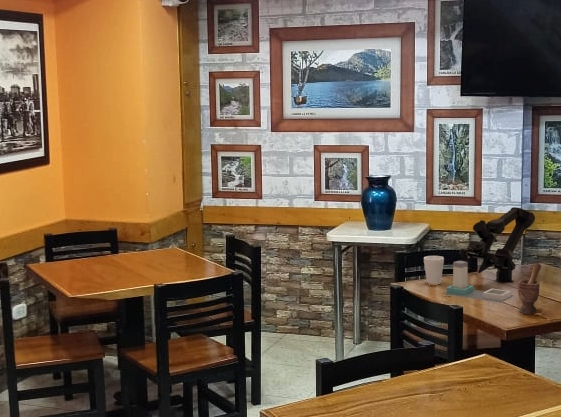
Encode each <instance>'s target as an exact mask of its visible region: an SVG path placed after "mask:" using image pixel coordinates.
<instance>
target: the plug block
mask: <svg viewBox="0 0 561 417" xmlns="http://www.w3.org/2000/svg"><path fill="white" fill-rule="evenodd" d="M452 265H453V266H452V267H453V269H452V271H453V272H452V273H453V274H452V277H453V278H452V279H453V280H452V281H453V282H452V283H453V284H452V285H453V288H458V289H466V288H467V285H468V265H469V264H468V262H464V261H463V260H457V261H453V263H452Z"/></svg>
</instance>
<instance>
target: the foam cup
mask: <svg viewBox="0 0 561 417" xmlns="http://www.w3.org/2000/svg"><path fill="white" fill-rule="evenodd" d="M423 263H424V264H423V265H424V271H425V277H426V278H425V279H426V283H427V282H428V283H431V284H439V283H442V277H443V276H442V275H443V269H444V263H445V258H444V256H440V255H427V256H424V257H423Z"/></svg>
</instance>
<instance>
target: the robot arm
mask: <svg viewBox="0 0 561 417" xmlns="http://www.w3.org/2000/svg"><path fill="white" fill-rule="evenodd" d="M535 220H536V215H535V214H534V213H533V212H531V211H528V210H525V209H523V208H521V207H515V206H513V207H511V208H510V209H509V210H508V211H507V212H505V213H504V214H503V215H501V216H499V218H495V219H491V220H489V221H488V222H486V221H485V220H483V219H480V220H479V221H478V222H476V223H474V224H473V226H472V230H473V232H474V233H475V234H476V236H477V237H478V238H480V240H479V241H474V240H469V241H468V246H467V248H460V250H459V252H458V253H459V255H460V256H461V258H462V261H464V262H468V265H469V264H471V262H472V261H471V260H472V259H473V258H475V259H480V260H482V263H481V265H480V267H479V268H478V272H477V273H478V274H481V273H483V272H484V271H485V270H487V269H490V268H491V267H494V269H497V270H496V274H495V276H496V278H495V281H497V282H499V283H501V284H504V283H506V284H507V283H514V280H513V271H515V269H516V264H515V262H514V261H513V260H514V255H513V252H514V251H515V249H516V247H517V245H518V244H519V242H520V240H521V238H522V236H523V234H524V232H525V231H526V230H527V229H529V228H531V227H532V225H533V223H534V222H535ZM513 221H515V222H514V223H515V225H514V227H513V229H512V231H511V233H510V235H509V236H508V238H507V240H506V242H505V244H504V246H503V247H502V248H497V249H496V251H495V253H491V251H492V249H491V248H492V246H493V244H494V243H498V238H497V236H496V235H498V236H499V235H501V234H502V233H503V232H504V231H505V229H506V227H507V226H508V225H509V224H510V223H512V222H513ZM468 248H469V249H468ZM470 249H471V251H472V252H471V251H470Z"/></svg>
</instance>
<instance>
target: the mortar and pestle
mask: <svg viewBox="0 0 561 417" xmlns="http://www.w3.org/2000/svg"><path fill="white" fill-rule="evenodd" d="M541 268H542V265H541V264H540V263H537V262H536V263H535V264H534V265H533V268H532V271H531V275H530V278H529V279H520V280H518V282H517V295H518V297H519V300H520V301H521V303H522V305H521V306H520V307H519V308H518V312H519V313H520V314H521V313H522V314H523V315H534V314H536V313H537V310H538V309H537V307H535V303H536V302H537V301H538V299H539V296H540V289H541V288H540V285H541V284H540V281H538V280H536V279H537V277H538V274H539V273H540V271H541Z"/></svg>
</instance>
